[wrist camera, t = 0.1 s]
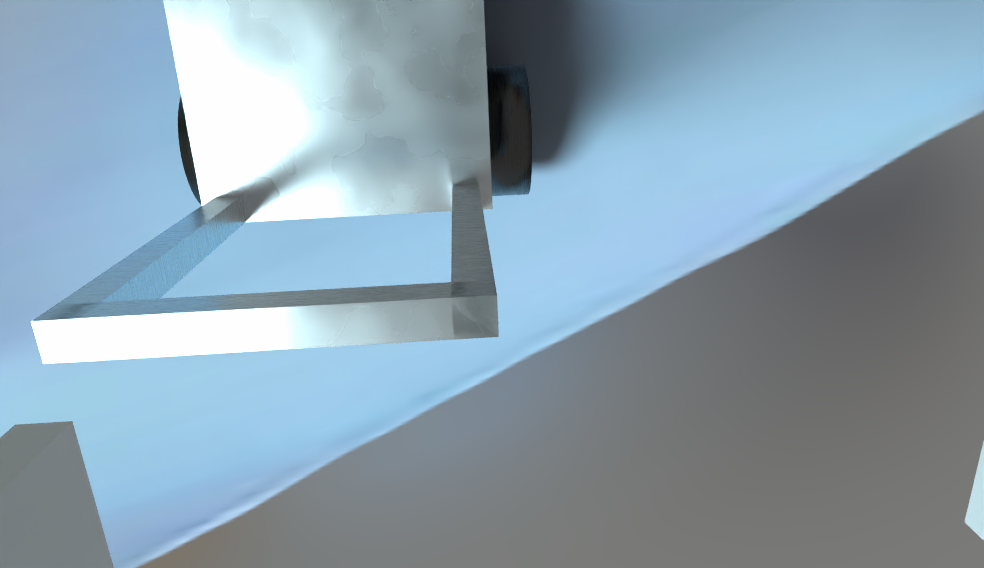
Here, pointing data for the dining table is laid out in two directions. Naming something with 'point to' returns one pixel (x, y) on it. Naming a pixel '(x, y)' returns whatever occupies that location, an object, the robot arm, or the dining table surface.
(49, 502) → the robot arm
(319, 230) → the dining table surface
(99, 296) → the trolley
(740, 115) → the dining table surface
